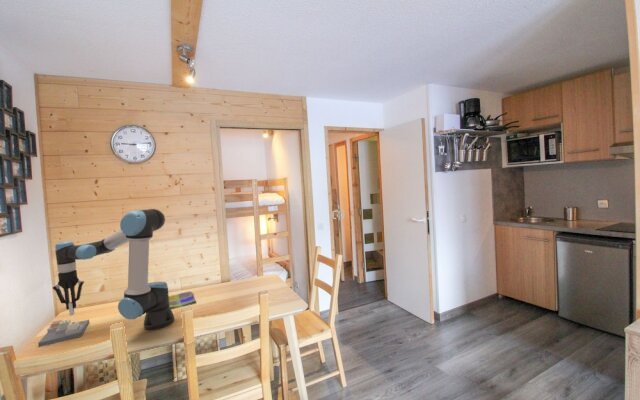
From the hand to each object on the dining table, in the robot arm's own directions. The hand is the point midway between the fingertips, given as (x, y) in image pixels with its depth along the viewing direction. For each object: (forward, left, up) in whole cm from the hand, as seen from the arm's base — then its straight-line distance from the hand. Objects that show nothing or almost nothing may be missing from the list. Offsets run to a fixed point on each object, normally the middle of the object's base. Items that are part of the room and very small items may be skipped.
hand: (72, 314), depth 158 cm
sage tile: (+6, +5, -8) cm, 11 cm away
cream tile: (0, 0, -8) cm, 8 cm away
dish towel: (+17, -53, -12) cm, 57 cm away
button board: (+6, +5, -12) cm, 14 cm away
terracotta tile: (+12, +10, -9) cm, 18 cm away
